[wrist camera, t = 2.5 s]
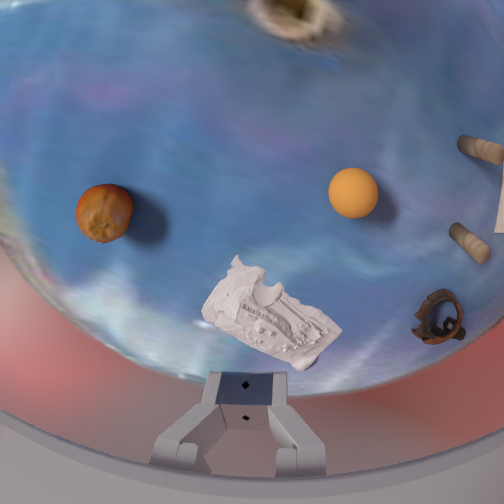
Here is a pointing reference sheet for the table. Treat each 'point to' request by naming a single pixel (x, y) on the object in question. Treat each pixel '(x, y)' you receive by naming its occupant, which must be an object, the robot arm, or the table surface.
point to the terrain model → (268, 317)
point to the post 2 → (470, 242)
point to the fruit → (104, 212)
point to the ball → (353, 193)
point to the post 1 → (481, 149)
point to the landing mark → (500, 211)
